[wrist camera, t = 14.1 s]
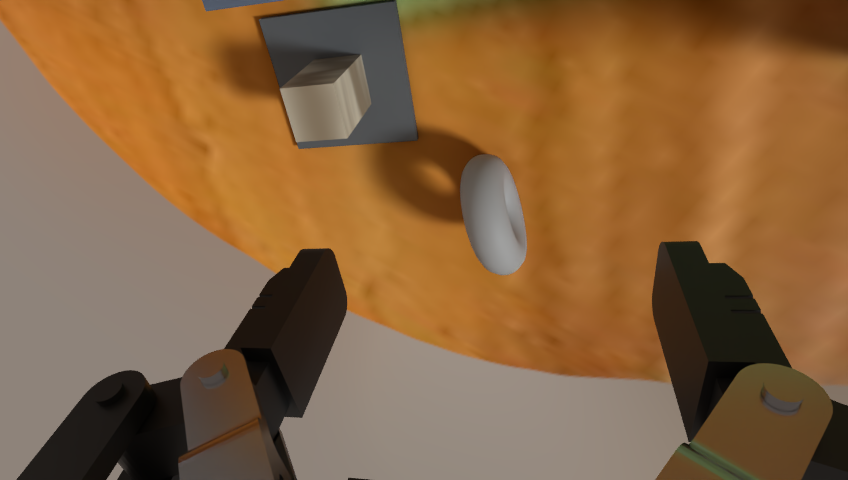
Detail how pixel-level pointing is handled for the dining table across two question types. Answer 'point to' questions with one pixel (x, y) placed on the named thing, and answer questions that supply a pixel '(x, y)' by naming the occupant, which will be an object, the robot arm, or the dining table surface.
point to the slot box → (231, 3)
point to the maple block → (327, 98)
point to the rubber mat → (345, 36)
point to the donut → (493, 214)
